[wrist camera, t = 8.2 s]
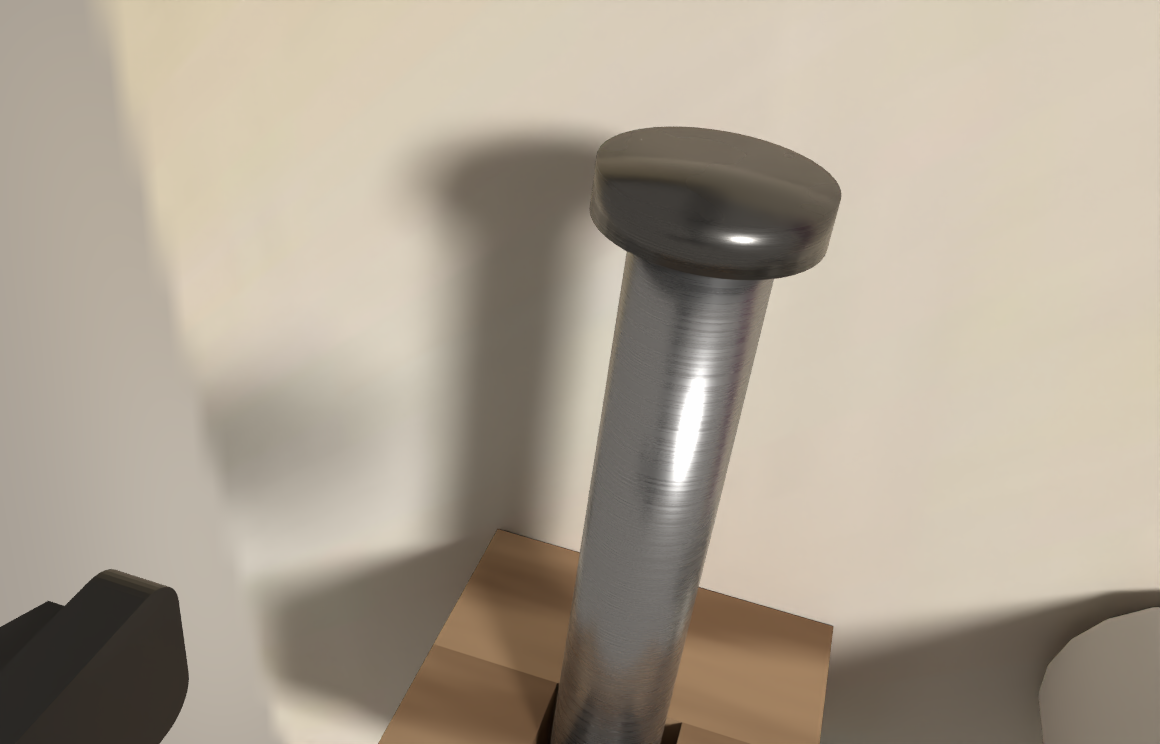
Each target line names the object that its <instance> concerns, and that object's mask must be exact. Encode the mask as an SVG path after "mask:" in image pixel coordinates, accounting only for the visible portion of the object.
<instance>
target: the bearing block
mask: <svg viewBox="0 0 1160 744" xmlns="http://www.w3.org/2000/svg"><path fill="white" fill-rule="evenodd" d="M579 555H580V553H578V552H575V551H572V550H568V549H565V548H561V547H558V546H554V545H551V544H547V543H544V542H541V541H537V540H534V539H530V538H527V537H523V536H520V535H516V534H513V533H510V532H506V531H503V530H499V529H497V531H496V533H495V535H494V537H493V538H492V540H491V542H490V544H489V546H488V547H487V549H486V551H485V553H484V555H483V556H482V558H481V560H480V562H479V564H478V565H477V567H476V569H475V571H474V573H473V574H472V576H471V578H470V580H469V581H468V583H467V585H466V587H465V589H464V590H463V592H462V594H461V596H460V598H459V599H458V601H457V603H456V605H455V607H454V608H453V610H452V612H451V614H450V616H449V617H448V619H447V621H446V623H445V625H444V626H443V628H442V630H441V632H440V634H439V635H438V637H437V639H436V641H435V643H434V644H433V646H432V648H431V650H430V652H429V653H428V655H427V657H426V659H425V661H424V662H423V664H422V666H421V668H420V669H419V671H418V673H417V675H416V677H415V678H414V680H413V682H412V684H411V686H410V687H409V689H408V691H407V693H406V695H405V696H404V698H403V700H402V702H401V704H400V705H399V707H398V709H397V711H396V713H395V714H394V716H393V718H392V720H391V722H390V723H389V725H388V727H387V729H386V731H385V732H384V734H383V736H382V738H381V740H380V741H379V743H378V744H550V741H551V734H552V728H553V721H554V715H555V709H556V702H557V696H558V689H559V683H560V677H561V670H562V664H563V657H564V651H565V645H566V638H567V632H568V625H569V619H570V613H571V606H572V600H573V593H574V587H575V581H576V574H577V568H578V561H579ZM832 634H833V626H830V625H826V624H823V623H820V622H816V621H813V620H809V619H806V618H802V617H799V616H795V615H792V614H789V613H785V612H782V611H778V610H775V609H771V608H768V607H764V606H761V605H758V604H754V603H751V602H747V601H744V600H740V599H737V598H733V597H730V596H727V595H723V594H720V593H716V592H713V591H709V590H706V589H702V588H699V587H698V591H697V595H696V599H695V604H694V608H693V612H692V616H691V620H690V624H689V628H688V632H687V636H686V640H685V644H684V649H683V653H682V657H681V661H680V665H679V669H678V673H677V677H676V681H675V685H674V689H673V694H672V698H671V702H670V706H669V710H668V714H667V718H666V722H665V726H664V730H663V734H662V739H661V743H660V744H820V736H821V727H822V719H823V710H824V702H825V693H826V685H827V676H828V668H829V659H830V651H831V643H832Z"/></svg>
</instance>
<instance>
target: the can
mask: <svg viewBox="0 0 1160 744" xmlns="http://www.w3.org/2000/svg"><path fill="white" fill-rule="evenodd" d="M1038 697H1039V707H1040V717H1041V726H1042V736H1043V744H1160V607H1152V608H1148V609H1144V610H1141V611H1137V612H1133V613H1129V614H1125V615H1121V616H1118V617H1114V618H1110V619H1106V620H1105V621H1103V622H1101V623H1099V624H1098V625H1096V626H1094V627H1092V628H1090V629H1089V630H1087V631H1085V632H1083V633H1082V634H1080V635H1078V636H1076V637H1074V638H1073V639H1071V640H1070V641H1069V642H1068V643H1067V644H1066V646H1065V647H1064V648H1063V649H1062V650H1061V651H1060V652H1059V653H1058V654H1057V655H1056V657H1055V658H1054V659H1053V660H1052V661H1051V662H1050V663H1049V664H1048V666H1047V669H1046V672H1045V675H1044V678H1043V681H1042V684H1041V687H1040V690H1039V693H1038Z"/></svg>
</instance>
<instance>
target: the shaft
mask: <svg viewBox="0 0 1160 744" xmlns="http://www.w3.org/2000/svg"><path fill="white" fill-rule="evenodd" d="M840 200H841V190H840V187H839V185H838V183H837V182H836V180H835V179H834V178H833V177H832V176H831V174H830V173H828V172H827V171H826V170H825V169H824V168H822V167H821V166H819V165H818V164H816V163H815V162H813V161H812V160H810V159H808V158H806V157H804V156H803V155H800V154H798V153H796V152H794V151H792V150H789V149H787V148H784V147H782V146H779V145H776V144H773V143H770V142H767V141H764V140H761V139H757V138H754V137H750V136H745V135H741V134H737V133H731V132H726V131H720V130H713V129H705V128H695V127H653V128H644V129H638V130H633V131H629V132H625V133H622V134H619V135H617V136H614V137H612V138H611V139H609V140H607V141H606V142H605V143H604V144H603V145H601V147H600V148H599V150H598V152H597V157H596V165H595V172H594V180H593V187H592V195H591V203H590V215H591V218H592V220H593V222H594V224H595V225H596V227H597V228H598V230H599V231H600V232H601V233H602V234H603V235H604V236H605V237H607V238H608V239H609V240H611V241H612V242H613V243H614V244H616V245H618V246H619V247H621V248H622V249H624V250H626V251H627V254H626V261H625V267H624V273H623V280H622V286H621V293H620V299H619V305H618V312H617V318H616V325H615V331H614V337H613V344H612V350H611V357H610V363H609V369H608V376H607V382H606V389H605V395H604V401H603V408H602V414H601V421H600V427H599V433H598V440H597V446H596V453H595V459H594V465H593V472H592V478H591V485H590V491H589V497H588V504H587V510H586V517H585V523H584V529H583V536H582V542H581V549H580V555H579V561H578V568H577V574H576V581H575V587H574V593H573V600H572V606H571V613H570V619H569V625H568V632H567V638H566V645H565V651H564V657H563V664H562V670H561V677H560V683H559V689H558V696H557V702H556V709H555V715H554V721H553V728H552V734H551V741H550V744H660V743H661V739H662V734H663V730H664V726H665V722H666V718H667V714H668V710H669V706H670V702H671V698H672V694H673V689H674V685H675V681H676V677H677V673H678V669H679V665H680V661H681V657H682V653H683V649H684V644H685V640H686V636H687V632H688V628H689V624H690V620H691V616H692V612H693V608H694V604H695V599H696V595H697V591H698V587H699V583H700V579H701V575H702V571H703V567H704V563H705V559H706V554H707V550H708V546H709V542H710V538H711V534H712V530H713V526H714V522H715V518H716V514H717V509H718V505H719V501H720V497H721V493H722V489H723V485H724V481H725V477H726V473H727V468H728V464H729V460H730V456H731V452H732V448H733V444H734V440H735V436H736V432H737V428H738V423H739V419H740V415H741V411H742V407H743V403H744V399H745V395H746V391H747V387H748V383H749V378H750V374H751V370H752V366H753V362H754V358H755V354H756V350H757V346H758V342H759V338H760V333H761V329H762V325H763V321H764V317H765V313H766V309H767V305H768V301H769V297H770V293H771V288H772V284H773V280H774V279H775V278H782V277H787V276H791V275H795V274H798V273H801V272H804V271H806V270H808V269H810V268H812V267H814V266H815V265H816V264H818V263H819V262H820V261H821V260H822V259H823V257H824V256H825V254H826V251H827V248H828V245H829V241H830V237H831V234H832V230H833V226H834V223H835V219H836V215H837V212H838V208H839V204H840Z"/></svg>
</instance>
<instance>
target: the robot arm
mask: <svg viewBox="0 0 1160 744" xmlns="http://www.w3.org/2000/svg"><path fill="white" fill-rule="evenodd" d="M188 680H189V675H188V666H187V659H186V651H185V644H184V637H183V629H182V622H181V614H180V608H179V600H178V596H177V594H176V592H175V590H174V589H172V588H170V587H167V586H164V585H161V584H158V583H155V582H152V581H149V580H146V579H143V578H139V577H136V576H133V575H130V574H127V573H124V572H120V571H118V570H113V569H109V570H105V571H103V572H101V573H99V574H98V575H96V576H95V577H93V579H91V580H90V581H89V582H88V583H87V584H86V585H85V586H84V587H83V588H82V589H81V590H80V591H79V592H78V593H77V594H76V595H75V596H74V597H73V598H72V599H71V600H70V601H69V602H68V603H67V604H66V605H65V606H62V605H59V604H56V603H53V602H50V601H48V602H45V603H44V604H42V605H40V606H38V607H36V608H34V609H33V610H31V611H29V612H27V613H25V614H23V615H22V616H20V617H18V618H16V619H14V620H13V621H11V622H9V623H7V624H5V625H3V626H1V627H0V744H159V743H160V742H161V741H162V740H163V738H164V737H165V736H166V734H167V733H168V731H169V730H170V728H171V727H172V725H173V724H174V722H175V721H176V719H177V717H178V715H179V713H180V711H181V708H182V706H183V703H184V700H185V697H186V693H187V689H188V682H189V681H188Z"/></svg>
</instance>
